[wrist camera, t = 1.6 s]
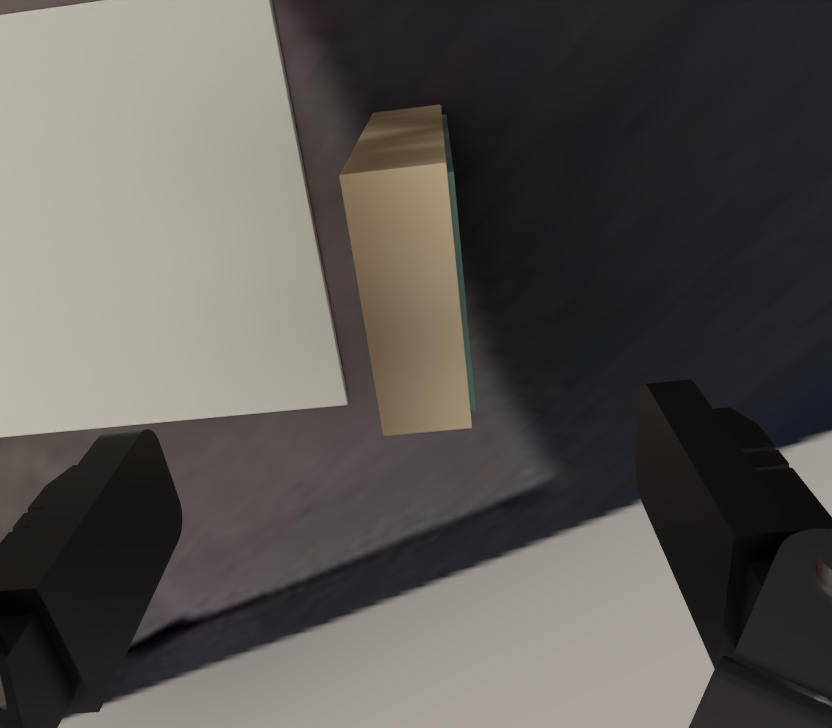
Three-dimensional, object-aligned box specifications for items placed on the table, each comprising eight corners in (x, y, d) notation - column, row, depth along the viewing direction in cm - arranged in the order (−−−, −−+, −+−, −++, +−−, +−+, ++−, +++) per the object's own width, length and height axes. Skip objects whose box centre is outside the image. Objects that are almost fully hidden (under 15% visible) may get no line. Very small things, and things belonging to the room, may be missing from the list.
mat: (267, -22, 22) (264, -22, 22) (348, 400, 30) (347, 404, 29) (-190, 42, 23) (-200, 43, 23) (-3, 433, 31) (-8, 437, 30)
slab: (445, 103, 24) (453, 161, 15) (462, 289, 27) (477, 427, 18) (373, 112, 24) (339, 175, 15) (398, 296, 27) (383, 435, 19)
